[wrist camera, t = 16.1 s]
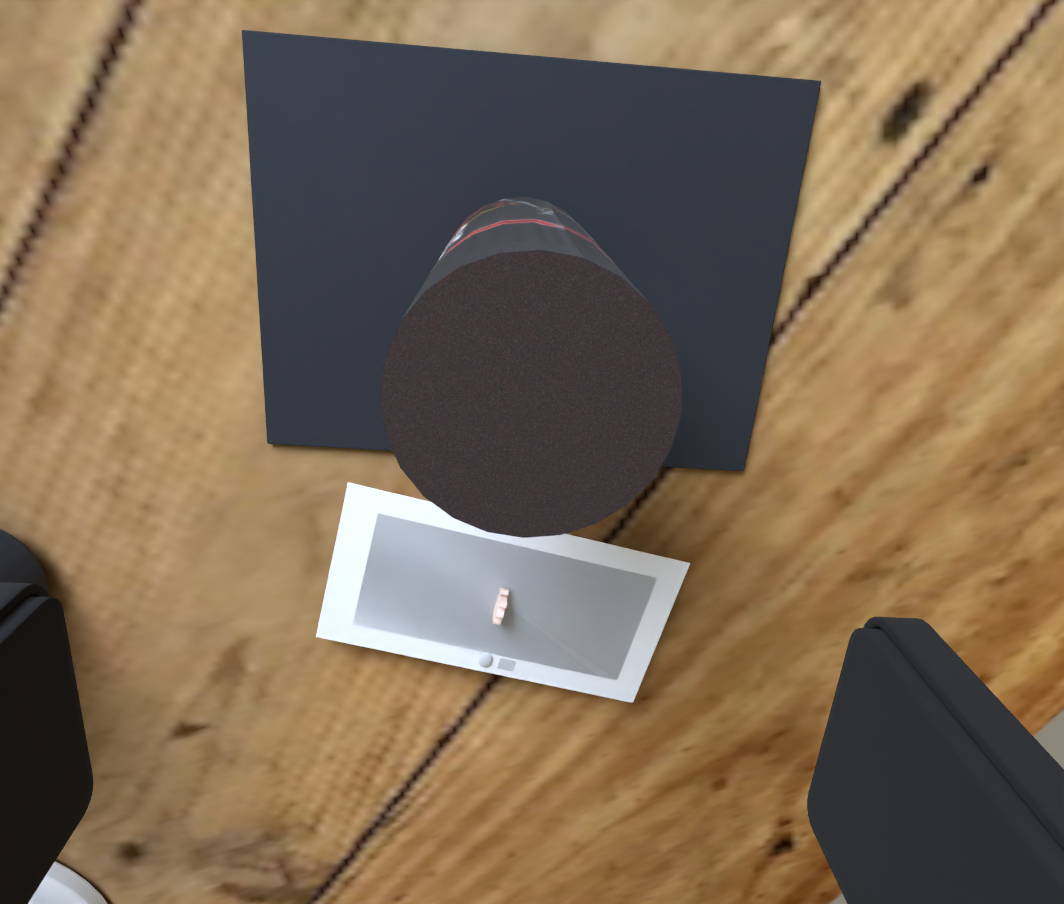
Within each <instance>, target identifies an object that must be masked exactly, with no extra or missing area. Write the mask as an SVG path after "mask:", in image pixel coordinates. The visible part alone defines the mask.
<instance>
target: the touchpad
mask: <svg viewBox="0 0 1064 904" xmlns="http://www.w3.org/2000/svg"><path fill="white" fill-rule="evenodd" d="M689 565H690V563H687V562H683V561H679V560H675V559H671V558H666V557H662V556H658V555H654V554H649V553H645V552H641V551H637V550H632V549H628V548H624V547H620V546H615V545H611V544H607V543H603V542H599V541H594V540H590V539H586V538H582V537H577V536H573V535H569V534H562V535H555V536H542V537H529V538H521V537H515V536H508V535H502V534H496V533H489V532H486V531H483V530H481V529H478V528H476V527H474V526H471V525H469V524H466V523H464V522H462V521H459V520H457V519H454V518H453V517H451V516H450V515H448V514H447V513H446V512H444V511H443V510H442V509H440V508H439V507H438V506H436V505H435V504H433V503H432V502H429V501H425V500H421V499H417V498H412V497H408V496H404V495H400V494H395V493H391V492H387V491H383V490H379V489H374V488H370V487H366V486H362V485H357V484H353V483H349V482H348V485H347V490H346V494H345V499H344V504H343V509H342V514H341V518H340V523H339V528H338V533H337V538H336V542H335V547H334V552H333V557H332V562H331V566H330V571H329V576H328V581H327V586H326V590H325V595H324V600H323V605H322V610H321V614H320V619H319V624H318V629H317V634H316V637H319V638H324V639H329V640H334V641H338V642H343V643H348V644H353V645H358V646H362V647H367V648H372V649H377V650H382V651H386V652H391V653H396V654H401V655H405V656H410V657H415V658H420V659H425V660H429V661H434V662H439V663H444V664H449V665H453V666H458V667H463V668H468V669H473V670H477V671H482V672H487V673H492V674H497V675H501V676H506V677H511V678H516V679H521V680H525V681H530V682H535V683H540V684H545V685H549V686H554V687H559V688H564V689H569V690H573V691H578V692H583V693H588V694H593V695H597V696H602V697H607V698H612V699H617V700H621V701H626V702H631V703H633V701H634V699H635V696H636V694H637V691H638V689H639V687H640V684H641V682H642V679H643V677H644V674H645V672H646V670H647V667H648V665H649V662H650V660H651V657H652V655H653V653H654V650H655V648H656V645H657V643H658V640H659V638H660V636H661V633H662V631H663V628H664V626H665V623H666V621H667V619H668V616H669V614H670V611H671V609H672V606H673V604H674V602H675V599H676V597H677V594H678V592H679V589H680V587H681V585H682V582H683V580H684V577H685V575H686V572H687V570H688V568H689Z"/></svg>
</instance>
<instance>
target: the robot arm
mask: <svg viewBox="0 0 1064 904" xmlns="http://www.w3.org/2000/svg"><path fill="white" fill-rule="evenodd" d="M92 791H93V774H92V769H91V763H90V757H89V752H88V746H87V740H86V735H85V729H84V724H83V718H82V712H81V707H80V701H79V695H78V690H77V684H76V678H75V673H74V667H73V662H72V656H71V650H70V645H69V639H68V633H67V628H66V622H65V616H64V611H63V607H62V604H61V602H60V601H59V600H58V599H57V598H54V597H49V595H48V592H47V591H46V590H45V588H44V587H43V586H41V585H39V584H31V583H6V582H0V904H107V902H106V901H105V899H104V898H103V896H102V895H101V894H100V893H99V892H98V891H97V890H96V889H95V888H94V887H93V886H92V885H91V884H90V883H89V882H88V881H87V880H85V879H84V878H82V877H81V876H79V875H78V874H77V873H75V872H74V871H72V870H71V869H69V868H67V867H65V866H63V865H62V864H60V863H58V862H56V861H55V860H56V858H57V857H58V855H59V854H60V852H61V851H62V849H63V847H64V846H65V844H66V843H67V841H68V839H69V838H70V836H71V835H72V833H73V831H74V830H75V828H76V827H77V825H78V824H79V822H80V820H81V819H82V817H83V816H84V814H85V812H86V810H87V808H88V805H89V803H90V800H91V796H92ZM807 808H808V816H809V820H810V824H811V827H812V829H813V831H814V834H815V836H816V838H817V840H818V842H819V844H820V846H821V848H822V851H823V853H824V855H825V857H826V859H827V861H828V863H829V865H830V868H831V870H832V872H833V874H834V876H835V878H836V880H837V882H838V885H839V887H840V889H841V891H842V893H843V895H844V897H845V899H846V902H847V904H1064V769H1063V768H1062V767H1061V766H1060V765H1059V764H1058V763H1057V762H1056V761H1055V760H1054V759H1053V757H1052V756H1051V755H1050V754H1049V753H1048V752H1047V751H1046V750H1045V749H1044V748H1043V747H1042V746H1041V745H1040V743H1039V742H1038V741H1037V740H1036V739H1035V738H1034V737H1033V736H1032V735H1031V734H1030V733H1029V732H1028V731H1027V729H1026V728H1025V727H1024V726H1023V725H1022V724H1021V723H1020V722H1019V721H1018V720H1017V719H1016V718H1015V717H1014V715H1013V714H1012V713H1011V712H1010V711H1009V710H1008V709H1007V708H1006V707H1005V706H1004V705H1003V704H1002V703H1001V701H1000V700H999V699H998V698H997V697H996V696H995V695H994V694H993V693H992V692H991V691H990V690H989V689H988V687H987V686H986V685H985V684H984V683H983V682H982V681H981V680H980V679H979V678H978V677H977V676H976V675H975V673H974V672H973V671H972V670H971V669H970V668H969V667H968V666H967V665H966V664H965V663H964V662H963V661H962V659H961V658H960V657H959V656H958V655H957V654H956V653H955V652H954V651H953V650H952V649H951V648H950V647H949V645H948V644H947V643H946V642H945V641H944V640H943V639H942V638H941V637H940V636H939V635H938V634H937V633H936V631H935V630H934V629H933V628H932V627H931V626H930V625H929V624H928V623H926V622H925V621H924V620H921V619H917V618H892V617H873V618H871V619H869V620H868V621H867V622H866V624H865V625H864V628H858V629H856V630H855V631H854V632H853V633H852V635H851V637H850V640H849V644H848V648H847V651H846V655H845V659H844V662H843V666H842V670H841V674H840V677H839V681H838V685H837V689H836V692H835V696H834V700H833V703H832V707H831V711H830V715H829V718H828V722H827V726H826V730H825V733H824V737H823V741H822V744H821V748H820V752H819V756H818V759H817V763H816V767H815V771H814V774H813V778H812V782H811V785H810V789H809V793H808V799H807Z"/></svg>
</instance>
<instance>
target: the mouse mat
mask: <svg viewBox="0 0 1064 904" xmlns="http://www.w3.org/2000/svg"><path fill="white" fill-rule="evenodd" d="M242 39H243V55H244V72H245V88H246V104H247V120H248V136H249V152H250V169H251V185H252V201H253V217H254V233H255V249H256V266H257V282H258V298H259V314H260V330H261V347H262V363H263V379H264V395H265V411H266V427H267V443H268V444H283V445H301V446H318V447H335V448H352V449H369V450H387V451H393V450H392V448H391V446H390V444H389V441H388V439H387V437H386V435H385V429H384V423H383V417H382V410H381V404H380V397H379V396H380V388H381V380H382V372H383V364H384V358H385V356H386V353H387V351H388V349H389V346H390V344H391V342H392V339H393V337H394V335H395V332H396V330H397V328H398V325H399V323H400V321H401V319H402V318H403V316H404V315H405V313H406V311H407V310H408V308H409V306H410V305H411V303H412V302H413V300H414V298H415V297H416V295H417V294H418V292H419V290H420V289H421V287H422V285H423V284H424V282H425V281H426V279H427V277H428V276H429V274H430V272H431V271H432V269H433V268H434V266H435V264H436V263H437V261H438V260H439V258H440V256H441V255H442V253H443V251H444V250H445V248H446V247H447V245H448V243H449V242H450V240H451V239H452V237H453V235H454V234H455V233H456V231H457V230H458V229H459V228H460V226H461V225H462V224H463V223H464V221H465V220H466V219H467V218H468V217H469V216H471V215H472V214H473V213H475V212H476V211H478V210H479V209H480V208H482V207H483V206H485V205H487V204H490V203H493V202H496V201H499V200H501V199H504V198H516V197H529V198H534V199H539V200H544V201H547V202H549V203H551V204H553V205H555V206H557V207H559V208H561V209H563V210H565V211H566V212H567V213H568V214H569V215H570V216H571V217H572V218H573V219H575V220H576V221H577V222H578V223H579V224H580V225H581V226H582V227H583V228H584V230H585V231H586V232H587V233H588V234H589V235H590V236H591V237H592V239H593V240H594V241H595V242H596V243H597V244H598V245H599V246H600V248H601V249H602V250H603V251H604V252H605V253H606V254H607V255H608V256H609V258H610V259H611V260H612V261H613V262H614V263H615V264H616V265H617V267H618V268H619V269H620V270H621V271H622V272H623V273H624V274H625V276H626V277H627V278H628V279H629V280H630V281H631V282H632V283H633V285H634V286H635V287H636V288H637V289H638V290H639V291H640V292H641V294H642V295H643V296H644V297H645V298H646V299H647V300H648V301H649V303H650V304H651V305H652V307H653V308H654V310H655V311H656V313H657V315H658V316H659V318H660V320H661V321H662V323H663V324H664V326H665V328H666V329H667V331H668V332H669V334H670V336H671V337H672V340H673V344H674V347H675V351H676V355H677V358H678V362H679V365H680V369H681V372H682V413H681V417H680V420H679V424H678V427H677V431H676V434H675V438H674V441H673V445H672V448H671V450H670V451H669V453H668V455H667V456H666V458H665V460H664V462H663V463H662V465H661V466H662V467H679V468H696V469H713V470H731V471H744V469H745V464H746V459H747V453H748V448H749V443H750V438H751V433H752V428H753V423H754V418H755V413H756V408H757V403H758V398H759V393H760V388H761V383H762V378H763V373H764V368H765V363H766V358H767V353H768V348H769V343H770V337H771V332H772V327H773V322H774V317H775V312H776V307H777V302H778V297H779V292H780V287H781V282H782V277H783V272H784V267H785V262H786V257H787V252H788V247H789V242H790V237H791V232H792V227H793V221H794V216H795V211H796V206H797V201H798V196H799V191H800V186H801V181H802V176H803V171H804V166H805V161H806V156H807V151H808V146H809V141H810V136H811V131H812V126H813V121H814V116H815V111H816V105H817V100H818V95H819V90H820V85H821V81H814V80H803V79H792V78H780V77H769V76H757V75H746V74H735V73H723V72H712V71H701V70H689V69H678V68H667V67H655V66H644V65H633V64H621V63H610V62H599V61H587V60H576V59H565V58H553V57H542V56H531V55H519V54H508V53H496V52H485V51H474V50H462V49H451V48H440V47H428V46H417V45H406V44H394V43H383V42H372V41H360V40H349V39H338V38H326V37H315V36H304V35H292V34H281V33H269V32H258V31H247V30H242Z"/></svg>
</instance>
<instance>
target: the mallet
mask: <svg viewBox="0 0 1064 904" xmlns="http://www.w3.org/2000/svg"><path fill="white" fill-rule="evenodd" d="M0 582H6V583H31V584H39V585H41V586H43V587H44V588H45V590H46V591H47V592H48V595H49V590H48V582H47V579H46V576H45V573H44V571H43V568H42V566H41V565H40V563H39V562H38V560H37V559H36V557H35V556H34V555H33V554H32V553H31V551H30V550H29V549H28V548H27V547H26V546H25V545H24V544H23V543H21V542H20V541H19V540H17V539H16V538H15V537H13V536H12V535H10V534H8V533H6V532H5V531H3V530H1V529H0Z"/></svg>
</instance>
